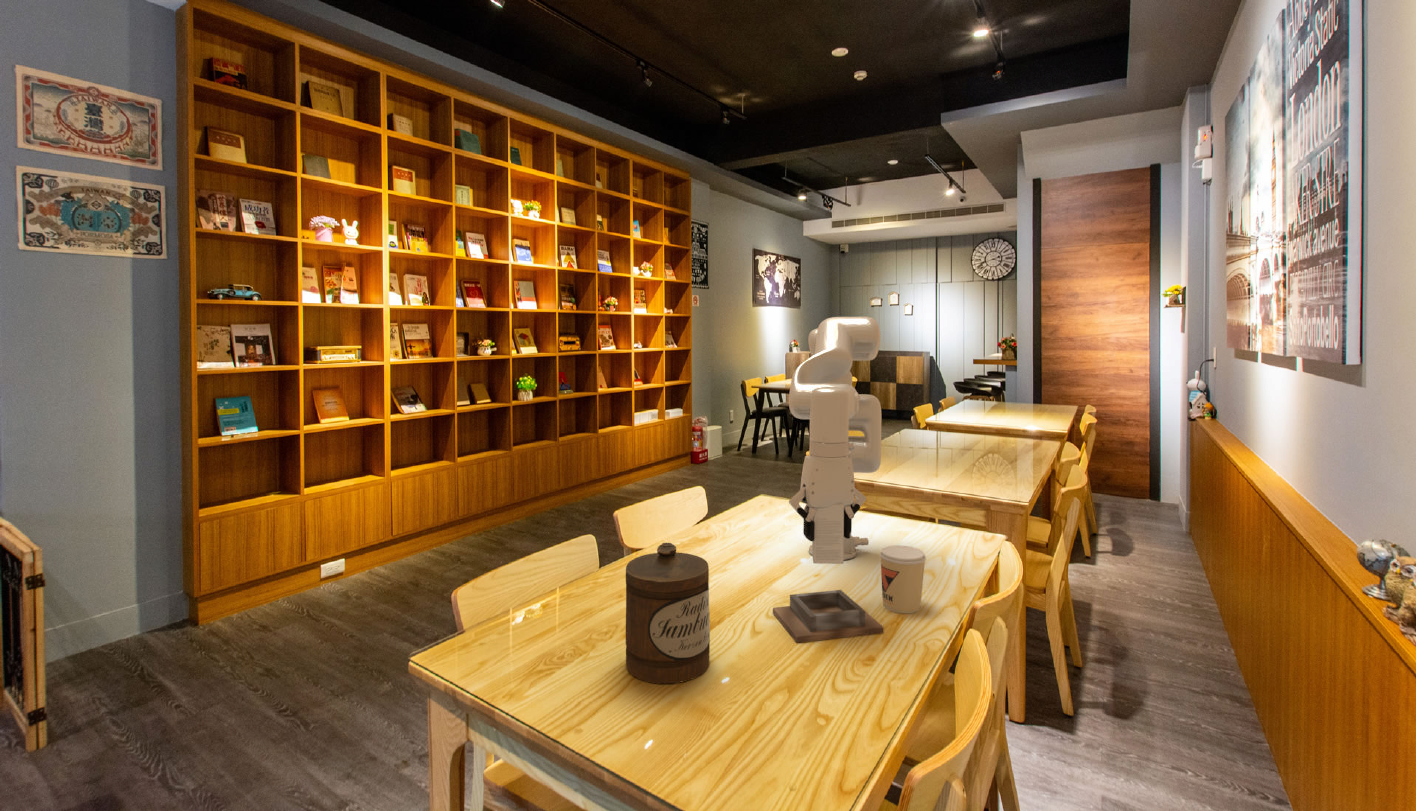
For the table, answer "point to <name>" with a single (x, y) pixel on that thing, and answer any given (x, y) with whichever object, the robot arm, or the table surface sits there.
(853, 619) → the sleeve holder
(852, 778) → the table surface
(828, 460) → the robot arm
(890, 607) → the coffee cup
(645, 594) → the wooden container
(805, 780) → the table surface
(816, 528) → the skincare box
